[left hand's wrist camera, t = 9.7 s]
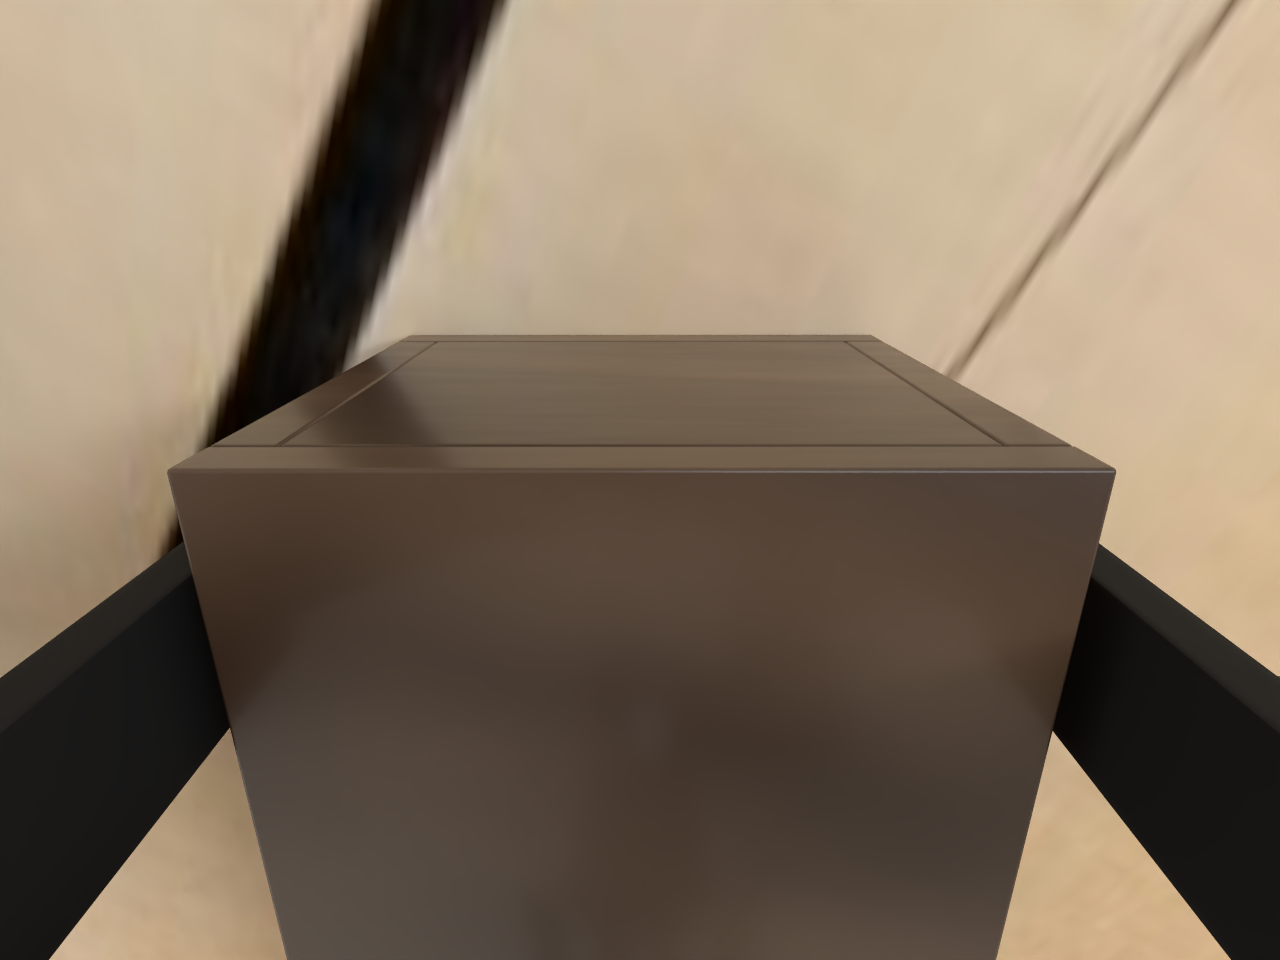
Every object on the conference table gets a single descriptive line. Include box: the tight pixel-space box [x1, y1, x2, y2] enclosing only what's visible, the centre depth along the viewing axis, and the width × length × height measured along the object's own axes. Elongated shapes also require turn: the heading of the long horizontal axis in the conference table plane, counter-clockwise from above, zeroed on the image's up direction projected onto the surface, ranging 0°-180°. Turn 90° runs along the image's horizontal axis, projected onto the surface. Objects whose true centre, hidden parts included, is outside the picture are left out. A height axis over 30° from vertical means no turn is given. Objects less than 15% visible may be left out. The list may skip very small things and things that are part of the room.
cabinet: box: [167, 335, 1116, 960], centre depth 17 cm, size 22×11×10 cm, turn 0°
